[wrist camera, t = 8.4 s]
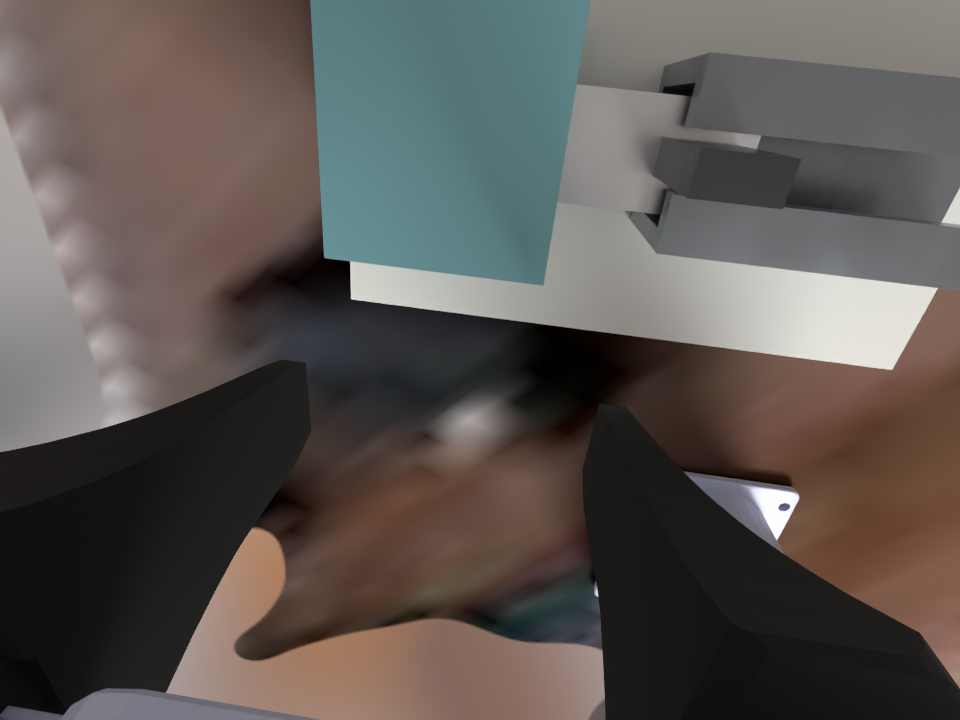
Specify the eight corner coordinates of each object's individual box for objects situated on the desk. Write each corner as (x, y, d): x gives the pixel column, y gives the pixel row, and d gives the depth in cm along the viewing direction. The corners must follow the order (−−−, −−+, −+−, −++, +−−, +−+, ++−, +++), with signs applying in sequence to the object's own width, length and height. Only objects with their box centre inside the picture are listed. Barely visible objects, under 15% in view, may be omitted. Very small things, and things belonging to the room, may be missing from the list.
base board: (877, 358, 20) (892, 369, 20) (358, 291, 22) (351, 299, 21) (1112, -79, 14) (1150, -91, 13) (349, -145, 15) (337, -160, 14)
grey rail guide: (911, 251, 18) (1030, 299, 13) (628, 218, 18) (656, 253, 14) (990, 99, 15) (1163, 98, 11) (664, 65, 16) (711, 52, 12)
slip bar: (701, 203, 17) (788, 258, 11) (410, 170, 17) (345, 204, 11) (730, 104, 15) (849, 105, 9) (413, 70, 16) (340, 51, 10)
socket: (542, 237, 19) (543, 285, 14) (379, 217, 19) (324, 257, 14) (576, 14, 15) (594, -26, 11) (378, -5, 16) (306, -54, 11)
